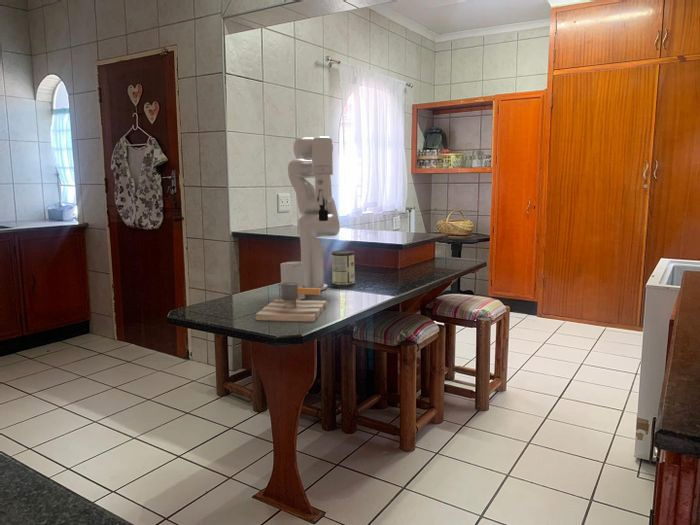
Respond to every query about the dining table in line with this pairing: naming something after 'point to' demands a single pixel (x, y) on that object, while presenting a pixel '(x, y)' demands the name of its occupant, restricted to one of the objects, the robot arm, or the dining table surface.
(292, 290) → the grey orange long piece
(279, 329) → the dining table surface
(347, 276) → the coffee can
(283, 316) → the base
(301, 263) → the skincare box
